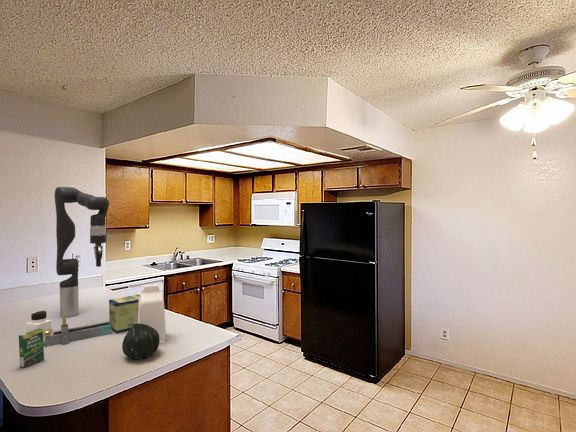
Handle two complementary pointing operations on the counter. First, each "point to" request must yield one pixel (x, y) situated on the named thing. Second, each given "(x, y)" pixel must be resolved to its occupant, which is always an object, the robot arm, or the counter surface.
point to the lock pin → (64, 320)
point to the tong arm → (84, 327)
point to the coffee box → (31, 347)
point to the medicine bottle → (39, 321)
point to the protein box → (123, 313)
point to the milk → (152, 310)
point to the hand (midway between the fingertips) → (98, 266)
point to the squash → (140, 341)
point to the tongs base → (74, 334)
